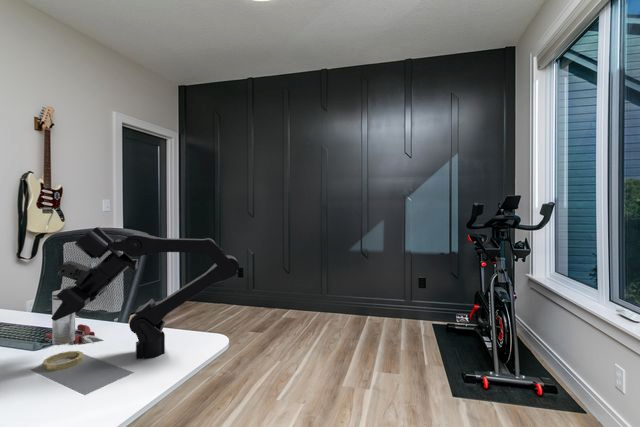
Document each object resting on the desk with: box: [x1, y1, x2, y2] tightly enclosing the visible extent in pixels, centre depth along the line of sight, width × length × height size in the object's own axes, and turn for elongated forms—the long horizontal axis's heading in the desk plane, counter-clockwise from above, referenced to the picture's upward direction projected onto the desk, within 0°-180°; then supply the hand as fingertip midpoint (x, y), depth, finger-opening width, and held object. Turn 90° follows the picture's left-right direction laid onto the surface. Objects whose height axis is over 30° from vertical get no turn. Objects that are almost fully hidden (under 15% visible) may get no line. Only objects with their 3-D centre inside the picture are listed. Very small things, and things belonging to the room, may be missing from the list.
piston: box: [51, 288, 76, 346], centre depth 83 cm, size 5×5×13 cm
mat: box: [30, 353, 135, 396], centre depth 80 cm, size 24×11×1 cm, turn 63°
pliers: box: [43, 323, 105, 345], centre depth 102 cm, size 12×20×3 cm, turn 65°
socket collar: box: [42, 350, 84, 371], centre depth 84 cm, size 8×8×2 cm
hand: (57, 316), depth 83 cm, fingers closed on piston, 5 cm apart
